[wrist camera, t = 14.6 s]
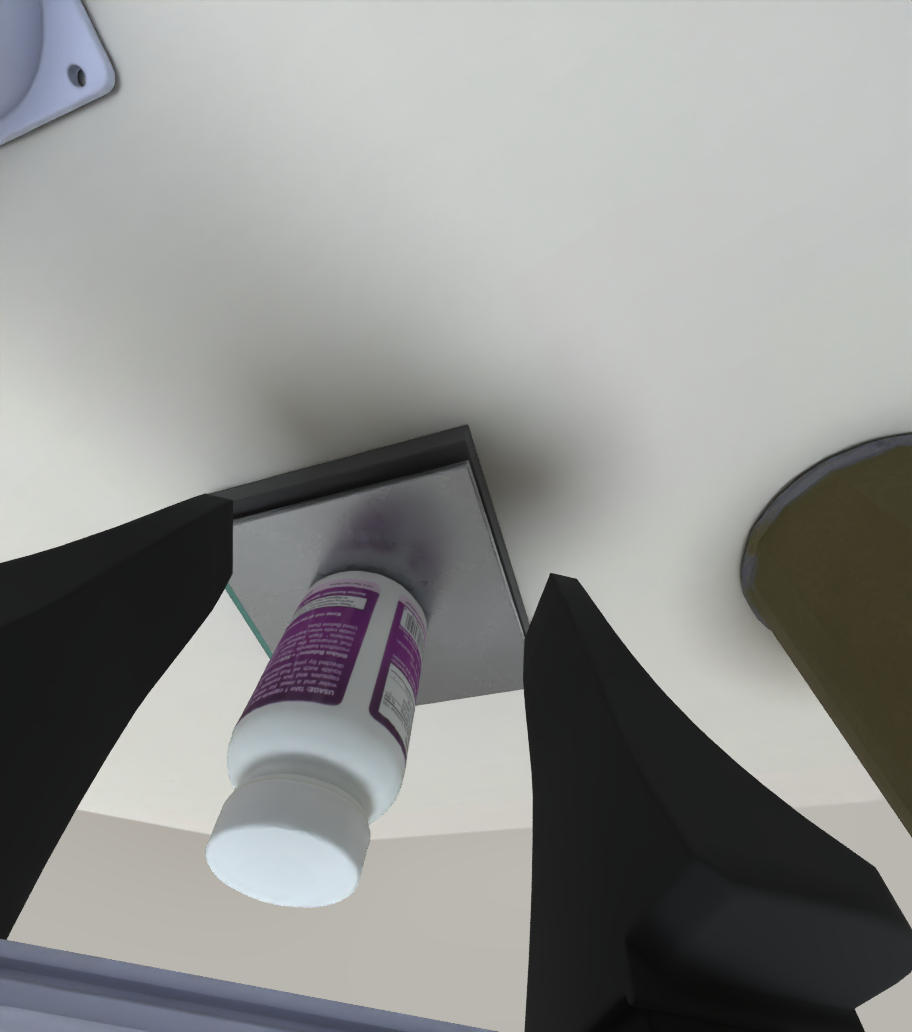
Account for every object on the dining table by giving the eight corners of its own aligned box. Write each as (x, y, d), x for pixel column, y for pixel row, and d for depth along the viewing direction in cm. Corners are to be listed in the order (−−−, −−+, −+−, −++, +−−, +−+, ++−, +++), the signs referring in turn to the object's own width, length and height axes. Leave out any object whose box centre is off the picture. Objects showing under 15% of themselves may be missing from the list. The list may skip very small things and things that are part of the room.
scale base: (319, 684, 28) (305, 721, 26) (206, 494, 22) (176, 521, 20) (536, 647, 25) (539, 684, 23) (468, 423, 20) (464, 446, 18)
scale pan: (318, 711, 25) (314, 721, 25) (204, 526, 20) (196, 534, 20) (537, 677, 23) (538, 687, 22) (468, 458, 18) (467, 466, 18)
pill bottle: (287, 637, 22) (158, 886, 14) (323, 545, 20) (191, 782, 11) (402, 680, 23) (346, 941, 15) (451, 597, 20) (416, 855, 12)
